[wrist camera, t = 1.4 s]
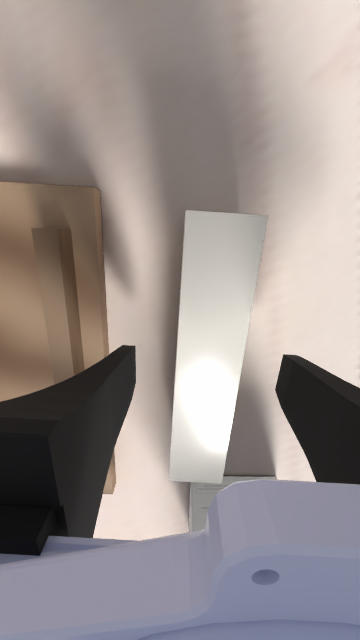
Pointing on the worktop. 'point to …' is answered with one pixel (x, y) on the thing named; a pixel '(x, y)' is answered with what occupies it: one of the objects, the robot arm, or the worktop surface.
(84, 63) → the worktop surface
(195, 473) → the white rectangular block
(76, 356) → the railed tan base plate
